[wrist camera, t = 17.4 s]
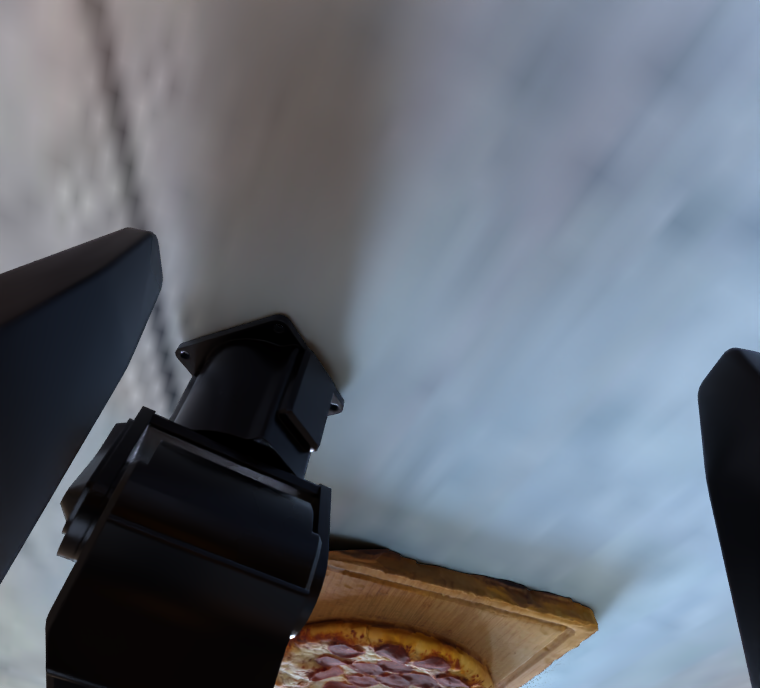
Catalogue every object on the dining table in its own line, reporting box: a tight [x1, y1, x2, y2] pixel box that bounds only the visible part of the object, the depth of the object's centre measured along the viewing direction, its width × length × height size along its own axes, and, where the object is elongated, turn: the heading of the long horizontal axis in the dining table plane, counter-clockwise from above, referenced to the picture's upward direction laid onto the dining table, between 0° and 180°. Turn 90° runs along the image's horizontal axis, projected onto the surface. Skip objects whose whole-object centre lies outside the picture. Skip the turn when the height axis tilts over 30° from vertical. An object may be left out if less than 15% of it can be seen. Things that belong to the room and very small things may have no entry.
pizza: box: [274, 549, 598, 688], centre depth 49 cm, size 35×28×4 cm
